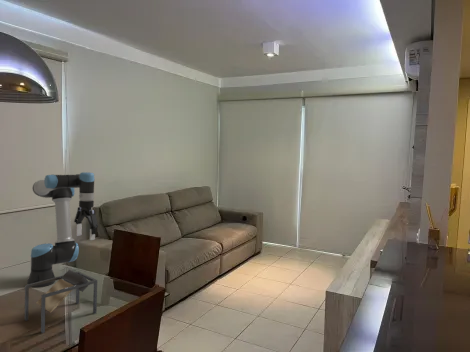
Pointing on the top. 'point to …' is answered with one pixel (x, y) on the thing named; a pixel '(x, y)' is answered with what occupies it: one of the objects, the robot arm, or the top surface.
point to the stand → (92, 281)
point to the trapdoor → (68, 281)
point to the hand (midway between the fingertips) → (85, 237)
